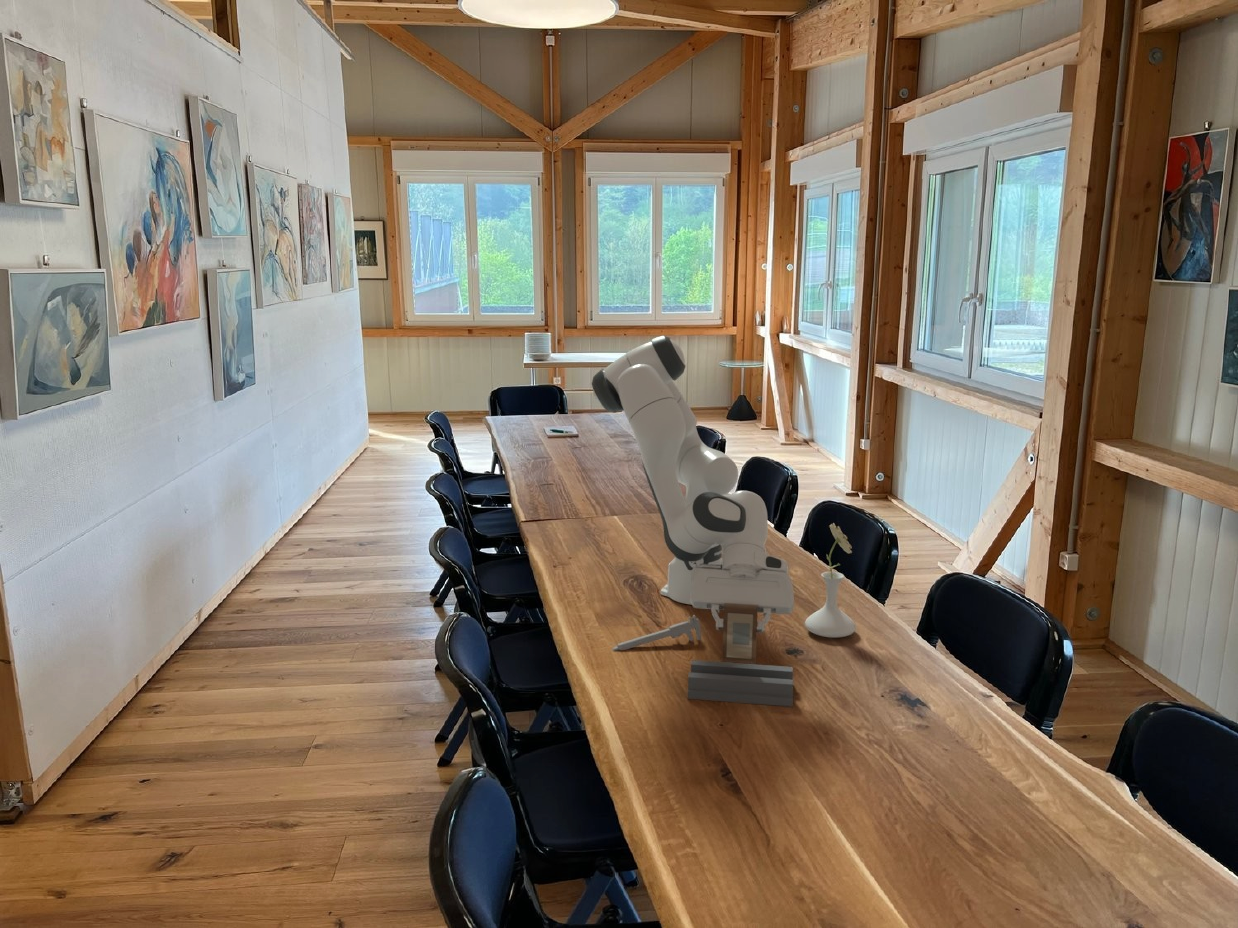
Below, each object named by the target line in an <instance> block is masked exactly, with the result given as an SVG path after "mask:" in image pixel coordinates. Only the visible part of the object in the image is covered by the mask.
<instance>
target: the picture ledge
mask: <svg viewBox="0 0 1238 928" xmlns="http://www.w3.org/2000/svg"><path fill="white" fill-rule="evenodd" d="M793 669H794V668H793V666H785V665H784V666H782V665H781V666H780V665H769V664H768V665H765V664H756V663H755V664H752V663H739V662H726V661H711V660H696V659H692V660H691V663H690V671H689V672H688V676H687V692H686V693H687V697H686V698H687V699H689V700H701V701H713V702H728V703H742V704H751V705H752V704H754V705H755V704H756V705H757V704H758V705H765V706H766V705H768V706H769V705H770V706H780V707H793V706H794V705H793V703H794V701H793V700H794V698H793V697H794V680H793V675H794V674H793V673H794V672H793V671H794V670H793Z"/></svg>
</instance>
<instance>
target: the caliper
mask: <svg viewBox="0 0 1238 928" xmlns="http://www.w3.org/2000/svg"><path fill="white" fill-rule="evenodd" d="M688 620H689V621H688ZM688 620H686V621H682V622H679V623H675V624H672V625H669V626H668V628H665V629H663V630H659V631H656V632H652V633H649V634H646V635H643V636H642V635H641V636H638V637H636V638H632V639H629V640H625V641H623V642H619V643H617V644H616V646H614V647H612V648H611V650H612V651H613V652H615V651H624V650H625V651H626V650H630V649H632V648H636V647H639V646H642V645H645V644H648V643H652V642H656V641H658V640H661V639H665V638H669V637H671V638H672V639H675V638H679V637H681V636H683V634H685V635H686V636H687V638H688V640H689V641H690V642H694V638H693V633H692V630H694V632H695V635H696V639H697V641H700V640H701V638H702V627H701V623H700V619H699V618H696V615H695V614H693V615H692V617H691V616H690V615H688Z"/></svg>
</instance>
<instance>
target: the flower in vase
mask: <svg viewBox="0 0 1238 928" xmlns="http://www.w3.org/2000/svg"><path fill="white" fill-rule="evenodd" d="M829 528H830V531H831V533H832V536H833V538H834V539H835V542H834V543H833V545H832V547H831V549H830V552H829V555H828V554H826V559H827V560H828V562H829V563H828V564H829V568H828V569H829V571H825V572H822V573H821V574H820V575H821V577H822V579H823V580H824V583H825V587H826V600H825V604H824V605H823V606H822V607H821V608H819V609H818V610H817V611H815V612H813V613H811V614H810V615H809V616H808V617H807V618H806V620H805V621H804V626H805V627H806V629H807V631H809V632H811V633H813V634H814V635H817V636H820V637H824V638H825V637H826V638H833V639H834V638H837V639H839V638H844V637H847V636H851V635H852V634H854V633H855V631H856V629H857V627H856V624H855V621H854V620H853V619H852V618H851V617H850V616H848V615H847V614H846V613H845V612H844V611H842V610H841V609H840V608H839V606H838V603H837V598H838V597H837V596H838V590H839V585H840V583H841V581H842V580H843V579H844V578H845V575H844V574H843V573H841V572H836V571H833V568H835V567H837V566H841V564H840V563H839V562H838V563H837V564H834V565H833V566H832V562H831V557H832V553H833V551H834V548H835V546H836V544H838V545H839V547H841V548H842V550H843V551H844V552H846V553H847V554H852V553H853V551H852V550H851V549H853V548H852V547H853V546H852V545H851V544H850V542H849V541H848V536H847V535H845V534H844V533H843V532H842V530H841V527H840V526H839V525H838V526H836V524H835V523H834V522H833V523H831V524H830V525H829Z"/></svg>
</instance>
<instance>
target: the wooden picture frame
mask: <svg viewBox="0 0 1238 928" xmlns="http://www.w3.org/2000/svg"><path fill="white" fill-rule="evenodd" d="M758 613H759V612H758V606H757V605H742V604H727V603H725V604H724V610H723V618H722V619H723V630H722V653H721V654H722V657H721V662H728V663H742V664H756V662H757V661H756V659H757V637H758V633H757V621H758Z"/></svg>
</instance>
